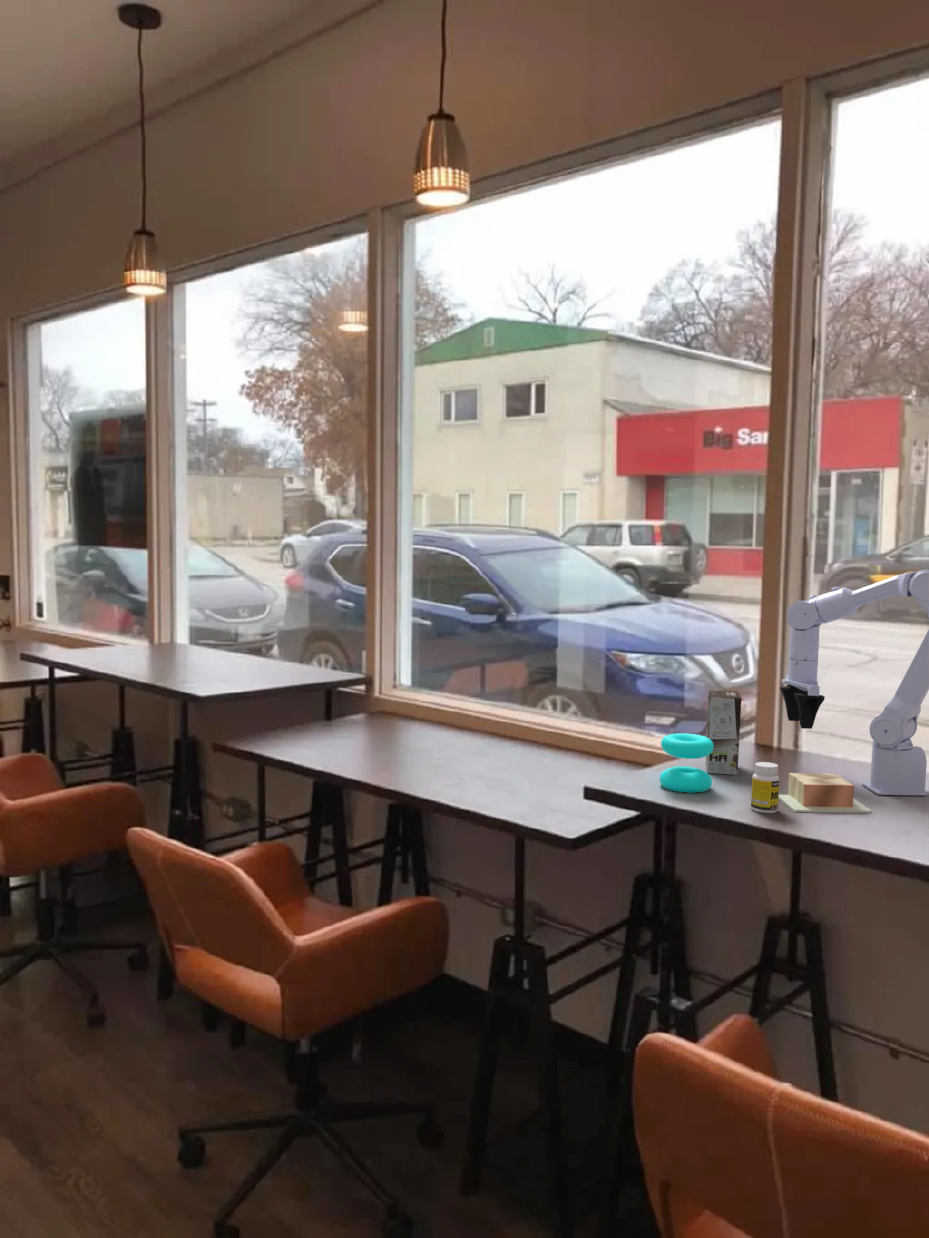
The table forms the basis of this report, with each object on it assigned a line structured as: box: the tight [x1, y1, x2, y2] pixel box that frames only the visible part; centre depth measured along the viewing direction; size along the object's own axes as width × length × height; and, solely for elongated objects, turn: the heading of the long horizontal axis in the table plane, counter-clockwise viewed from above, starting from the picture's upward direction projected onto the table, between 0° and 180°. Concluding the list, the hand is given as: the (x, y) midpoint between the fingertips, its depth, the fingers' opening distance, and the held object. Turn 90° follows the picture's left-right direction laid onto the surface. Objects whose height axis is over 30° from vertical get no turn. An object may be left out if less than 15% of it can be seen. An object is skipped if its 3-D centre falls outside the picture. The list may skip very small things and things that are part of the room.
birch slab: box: [787, 772, 855, 807], centre depth 185 cm, size 9×4×8 cm
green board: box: [778, 794, 873, 814], centre depth 183 cm, size 14×10×1 cm
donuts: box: [659, 732, 714, 794], centre depth 193 cm, size 10×10×10 cm
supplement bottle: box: [750, 761, 780, 814], centre depth 179 cm, size 5×5×8 cm
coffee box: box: [705, 690, 742, 776], centre depth 208 cm, size 9×6×16 cm
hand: (799, 724), depth 205 cm, fingers open, 7 cm apart
